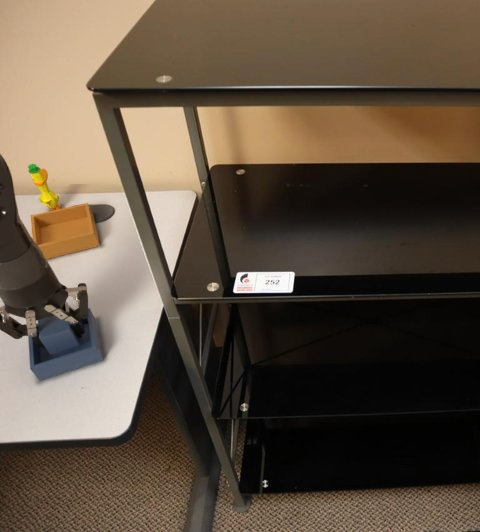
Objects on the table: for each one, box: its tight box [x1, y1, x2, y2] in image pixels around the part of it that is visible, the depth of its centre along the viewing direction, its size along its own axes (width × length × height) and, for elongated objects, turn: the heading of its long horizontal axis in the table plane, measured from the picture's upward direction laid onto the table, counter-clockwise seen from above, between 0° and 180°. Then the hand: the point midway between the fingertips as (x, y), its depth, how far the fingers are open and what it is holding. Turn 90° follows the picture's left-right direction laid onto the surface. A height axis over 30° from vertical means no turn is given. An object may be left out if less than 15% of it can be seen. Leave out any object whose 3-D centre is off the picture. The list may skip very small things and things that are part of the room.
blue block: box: [37, 315, 80, 354], centre depth 86 cm, size 4×4×4 cm
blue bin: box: [27, 307, 104, 382], centre depth 88 cm, size 10×10×4 cm
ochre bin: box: [30, 202, 101, 260], centre depth 107 cm, size 11×11×4 cm
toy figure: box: [27, 163, 62, 211], centre depth 110 cm, size 7×4×12 cm, turn 18°
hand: (63, 339), depth 87 cm, fingers closed on blue block, 4 cm apart
